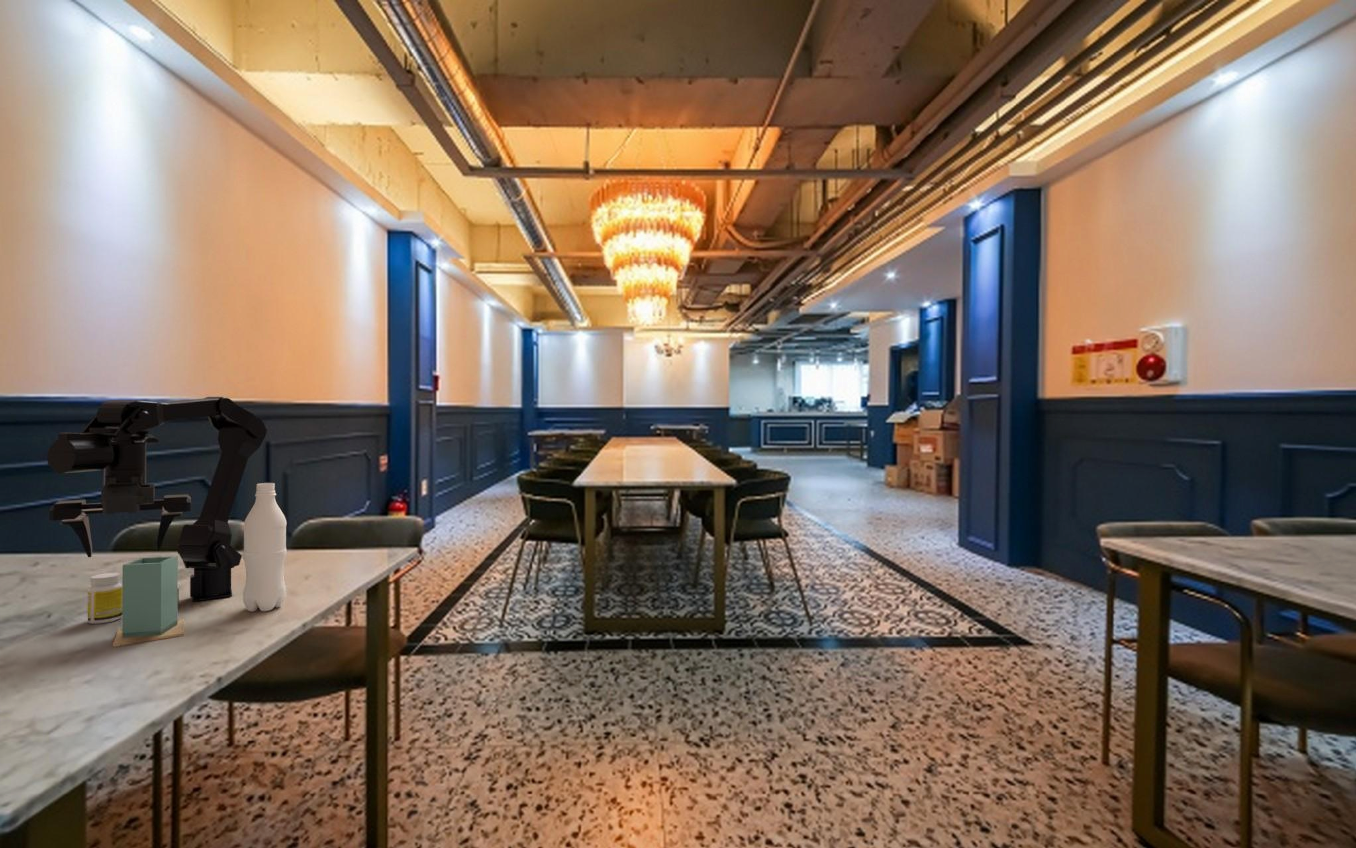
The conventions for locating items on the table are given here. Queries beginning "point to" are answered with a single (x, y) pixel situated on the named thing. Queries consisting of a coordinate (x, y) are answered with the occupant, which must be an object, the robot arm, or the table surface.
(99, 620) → the supplement bottle
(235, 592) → the table surface
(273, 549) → the water bottle
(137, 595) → the pot
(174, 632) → the coaster
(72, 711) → the table surface
